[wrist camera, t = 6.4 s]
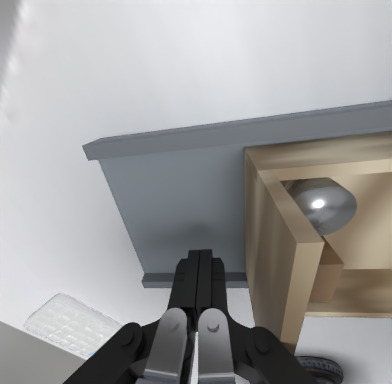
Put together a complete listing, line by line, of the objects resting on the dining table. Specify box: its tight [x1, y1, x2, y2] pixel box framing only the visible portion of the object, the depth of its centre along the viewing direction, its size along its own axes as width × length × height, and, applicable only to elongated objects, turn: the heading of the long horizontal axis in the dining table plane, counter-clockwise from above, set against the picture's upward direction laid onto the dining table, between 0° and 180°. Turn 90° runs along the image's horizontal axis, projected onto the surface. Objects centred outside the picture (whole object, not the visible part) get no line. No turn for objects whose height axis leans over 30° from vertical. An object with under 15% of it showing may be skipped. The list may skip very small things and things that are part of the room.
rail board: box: [82, 100, 392, 288], centre depth 14 cm, size 26×15×2 cm, turn 98°
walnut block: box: [308, 236, 345, 302], centre depth 14 cm, size 4×4×3 cm
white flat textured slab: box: [24, 293, 124, 357], centre depth 30 cm, size 13×20×2 cm, turn 43°
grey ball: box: [280, 177, 357, 236], centre depth 11 cm, size 3×3×3 cm
